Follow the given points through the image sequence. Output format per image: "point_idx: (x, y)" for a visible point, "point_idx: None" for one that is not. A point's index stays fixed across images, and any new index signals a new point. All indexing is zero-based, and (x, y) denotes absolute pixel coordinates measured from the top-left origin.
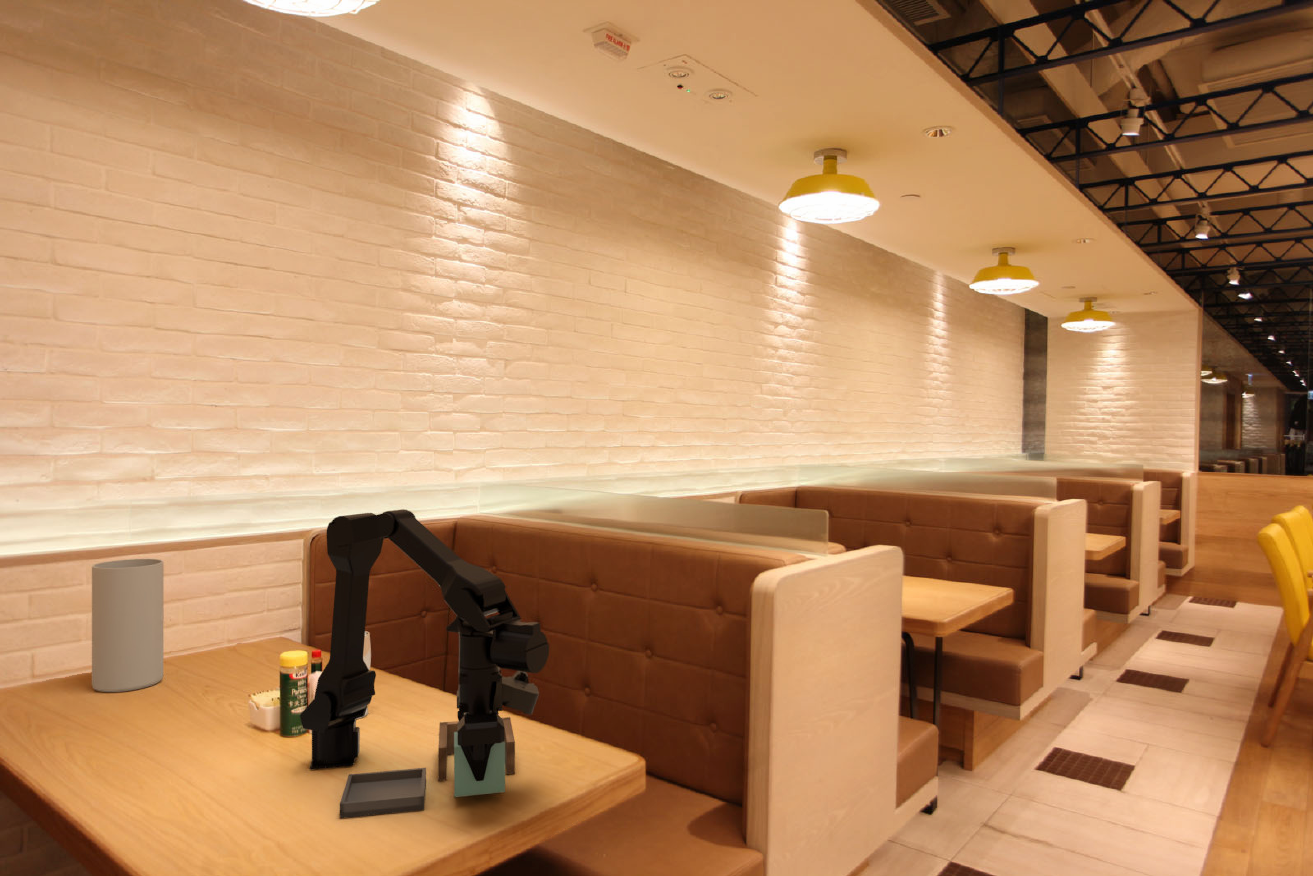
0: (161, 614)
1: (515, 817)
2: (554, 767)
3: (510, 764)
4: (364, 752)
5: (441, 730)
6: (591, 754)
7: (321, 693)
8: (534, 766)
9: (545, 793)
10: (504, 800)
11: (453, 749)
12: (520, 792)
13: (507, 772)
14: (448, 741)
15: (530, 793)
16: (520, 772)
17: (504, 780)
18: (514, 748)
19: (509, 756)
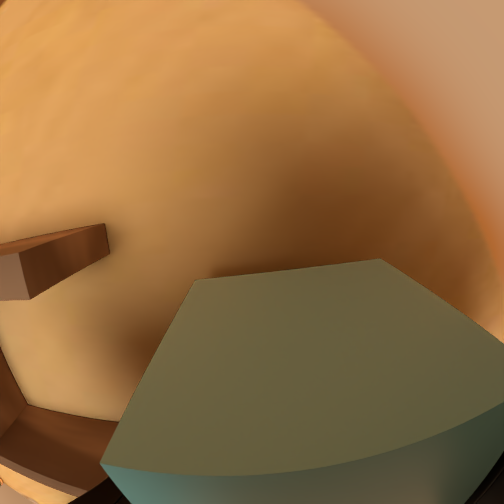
0: None
1: (458, 210)
2: (70, 82)
3: (87, 248)
4: (69, 496)
5: (25, 474)
6: (26, 11)
7: None
8: (51, 155)
9: (299, 91)
10: (341, 250)
11: (14, 399)
12: (278, 189)
13: (105, 253)
14: (9, 421)
15: (293, 148)
16: (90, 202)
17: (402, 275)
18: (42, 246)
19: (68, 262)
